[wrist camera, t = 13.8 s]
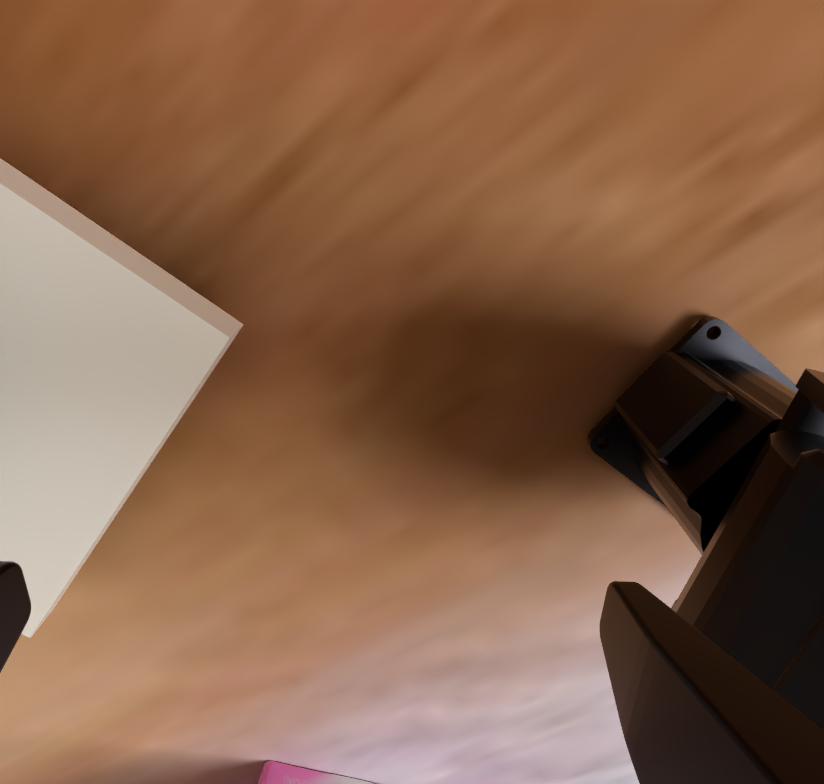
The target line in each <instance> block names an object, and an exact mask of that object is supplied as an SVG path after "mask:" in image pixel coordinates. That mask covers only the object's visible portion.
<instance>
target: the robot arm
mask: <svg viewBox="0 0 824 784" xmlns="http://www.w3.org/2000/svg"><path fill="white" fill-rule="evenodd" d="M712 326H715V327H716V328H715V332H714V334H713V335H711V336H708V337H707V336H706V335H707V331H708V329H709V328H711V327H712ZM603 437H606V438H607V440H606V441H605V442H604V443H603V444H597V441H598V440H599V439H600V438H603ZM587 441H588V445H589V446H590V448H591V449H592V450H593V452H594V453H596V454H597V455H598V456H600V457H601V458H602V459H604V460H605V461H606V462H608V463H609V464H610V465H612V466H613V467H614V468H616V469H617V470H618V471H620V472H621V473H622V474H624V475H625V476H626V477H628V478H629V479H630V480H632V481H633V482H634V483H636V484H637V485H639V486H640V487H641V488H643V489H644V490H645V491H647V492H648V493H649V494H651V495H652V496H653V497H655V498H656V499H657V500H659V501H660V502H661V503H663V504H664V505H665V506H666V507H667V508H668V509H669V511H670V512H671V513H672V515H673V516H674V517H675V519H676V520H677V521H678V523H679V524H680V526H681V527H682V528H683V530H684V531H685V532H686V534H687V535H688V536H689V538H690V539H691V541H692V542H693V543H694V545H695V546H696V547H697V549H698V550H699V551H700V553H701V554H702V557H701V558H700V560H699V562H698V564H697V566H696V567H695V569H694V571H693V573H692V574H691V576H690V578H689V580H688V582H687V583H686V585H685V587H684V589H683V590H682V592H681V594H680V596H679V598H678V599H677V600H676V601H675V603H674V604H673V606H672V608H670V607H668V606H667V605H666V604H665V603H663V602H662V601H661V600H659V599H658V598H657V597H656V596H654V595H653V594H652V593H651V592H649V591H648V590H647V589H646V588H644V587H643V586H642V585H640V584H639V583H636V582H618V581H614V582H612V583H610V584H609V586H608V588H607V592H606V597H605V601H604V606H603V611H602V615H601V620H600V638H601V642H602V646H603V651H604V655H605V659H606V663H607V668H608V672H609V676H610V680H611V685H612V689H613V693H614V697H615V702H616V706H617V710H618V714H619V719H620V723H621V727H622V730H623V734H624V738H625V741H626V745H627V748H628V751H629V754H630V757H631V760H632V763H633V766H634V769H635V772H636V774H637V777H638V780H639V783H640V784H824V373H823V372H819V371H815V370H811V369H805V370H804V372H803V374H802V376H801V378H800V379H799V381H798V383H797V385H796V384H794V383H793V382H792V381H791V380H790V379H789V378H788V377H786V376H785V375H784V374H783V373H782V372H781V371H780V370H779V369H777V368H776V367H775V366H774V365H773V364H772V363H771V362H769V361H768V360H767V359H766V358H765V357H764V356H763V355H762V354H760V353H759V352H758V351H757V350H756V349H755V348H754V347H752V346H751V345H750V344H749V343H748V342H747V341H746V340H745V339H743V338H742V337H741V336H740V335H739V334H738V333H737V332H735V331H734V330H733V329H732V328H731V327H730V326H729V325H728V324H726V323H725V322H724V321H722V320H720V319H718V318H716V317H710V316H709V317H706V318H703V319H702V320H700V321H699V322H698V323H697V324H696V325H695V326H694V327H693V328H692V329H691V330H690V331H689V332H688V333H687V334H686V335H685V336H684V337H683V338H682V339H681V340H680V341H679V342H678V343H677V344H676V345H675V346H674V347H673V349H672V350H671V351H670V352H666V353H663V354H662V355H661V356H660V357H659V358H658V359H657V360H656V361H655V362H654V363H653V364H652V365H651V366H650V367H649V368H648V369H647V370H646V371H645V373H644V374H643V375H642V376H641V377H640V378H639V379H638V380H637V381H636V382H635V383H634V384H633V385H632V386H631V387H630V388H629V389H628V390H627V391H626V392H625V393H624V394H623V395H622V396H621V397H620V398H619V399H618V400H617V405H616V407H615V408H614V409H613V410H612V411H611V412H610V413H609V414H608V415H607V416H606V417H605V418H604V419H603V420H602V421H601V422H600V423H599V424H598V425H597V426H596V427H595V428H594V429H593V430H592V431H591V432H590V434H589V435H588V439H587ZM30 613H31V600H30V597H29V593H28V590H27V586H26V582H25V579H24V575H23V571H22V568H21V567H20V565H19V564H18V563H16V562H12V561H0V672H1V670H2V669H3V667H4V665H5V663H6V661H7V659H8V657H9V655H10V654H11V652H12V650H13V648H14V646H15V644H16V642H17V641H18V639H19V637H20V635H21V633H22V631H23V629H24V628H25V626H26V624H27V622H28V620H29V617H30Z"/></svg>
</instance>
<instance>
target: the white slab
mask: <svg viewBox="0 0 824 784" xmlns="http://www.w3.org/2000/svg"><path fill="white" fill-rule="evenodd" d="M243 325H244V324H242V323H241V322H239V321H238V320H236V319H235V318H233V317H232V316H231V315H229V314H228V313H226V312H225V311H223V310H222V309H220V308H219V307H217V306H216V305H214V304H213V303H212V302H210V301H209V300H207V299H206V298H204V297H203V296H201V295H200V294H198V293H197V292H195V291H194V290H192V289H191V288H190V287H188V286H187V285H185V284H184V283H182V282H181V281H179V280H178V279H176V278H175V277H173V276H172V275H171V274H169V273H168V272H166V271H165V270H163V269H162V268H160V267H159V266H157V265H156V264H154V263H153V262H152V261H150V260H149V259H147V258H146V257H144V256H143V255H141V254H140V253H138V252H137V251H135V250H134V249H132V248H131V247H130V246H128V245H127V244H125V243H124V242H122V241H121V240H119V239H118V238H116V237H115V236H113V235H112V234H111V233H109V232H108V231H106V230H105V229H103V228H102V227H100V226H99V225H97V224H96V223H94V222H93V221H91V220H90V219H89V218H87V217H86V216H84V215H83V214H81V213H80V212H78V211H77V210H75V209H74V208H72V207H71V206H70V205H68V204H67V203H65V202H64V201H62V200H61V199H59V198H58V197H56V196H55V195H53V194H52V193H51V192H49V191H48V190H46V189H45V188H43V187H42V186H40V185H39V184H37V183H36V182H34V181H33V180H31V179H30V178H29V177H27V176H26V175H24V174H23V173H21V172H20V171H18V170H17V169H15V168H14V167H12V166H11V165H10V164H8V163H7V162H5V161H4V160H2V159H1V158H0V561H12V562H16V563H18V564H19V565H20V567H21V568H22V571H23V575H24V579H25V582H26V586H27V590H28V593H29V597H30V600H31V613H30V617H29V620H28V622H27V624H26V626H25V628H24V629H23V631H22V633H21V634H23V635H25V636H27V637H29V638H31V636H32V635H33V634H34V633H35V632H36V630H37V629H38V628H39V627H40V625H41V624H42V623H43V622H44V620H45V619H46V618H47V617H48V615H49V614H50V613H51V612H52V610H53V609H54V608H55V606H56V605H57V603H58V602H59V600H60V599H61V597H62V596H63V594H64V593H65V591H66V590H67V588H68V587H69V585H70V584H71V582H72V581H73V579H74V578H75V576H76V575H77V573H78V572H79V570H80V569H81V567H82V566H83V564H84V563H85V561H86V560H87V558H88V557H89V555H90V554H91V552H92V551H93V549H94V548H95V546H96V545H97V543H98V542H99V540H100V539H101V537H102V536H103V534H104V533H105V531H106V530H107V528H108V527H109V525H110V524H111V522H112V521H113V519H114V518H115V516H116V515H117V513H118V512H119V510H120V509H121V508H122V506H123V505H124V503H125V502H126V500H127V499H128V497H129V496H130V494H131V493H132V491H133V490H134V488H135V487H136V485H137V484H138V482H139V481H140V479H141V478H142V476H143V475H144V473H145V472H146V470H147V469H148V467H149V466H150V464H151V463H152V461H153V460H154V458H155V457H156V455H157V454H158V452H159V451H160V449H161V448H162V446H163V445H164V443H165V442H166V440H167V439H168V437H169V436H170V434H171V433H172V431H173V430H174V428H175V427H176V425H177V424H178V422H179V421H180V419H181V418H182V416H183V415H184V413H185V412H186V410H187V409H188V407H189V406H190V404H191V403H192V401H193V400H194V398H195V397H196V395H197V394H198V392H199V391H200V389H201V388H202V386H203V385H204V383H205V382H206V380H207V379H208V377H209V376H210V374H211V373H212V371H213V370H214V368H215V367H216V365H217V364H218V362H219V361H220V359H221V358H222V356H223V355H224V353H225V352H226V350H227V349H228V347H229V346H230V344H231V343H232V341H233V340H234V339H235V337H236V336H237V334H238V333H239V331H240V330H241V328H242V327H243Z"/></svg>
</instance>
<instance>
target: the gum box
mask: <svg viewBox="0 0 824 784" xmlns="http://www.w3.org/2000/svg"><path fill="white" fill-rule="evenodd" d="M257 784H375V783H371V782H368V781H364V780H359V779H354V778H350V777H345V776H340V775H335V774H329V773H324V772H319V771H314V770H310V769H305V768H301V767H297V766H292V765H288V764H284V763H279V762H275V761H267V762H265V764H264V766H263V769H262V771H261V774H260V777H259V780H258V783H257Z"/></svg>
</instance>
